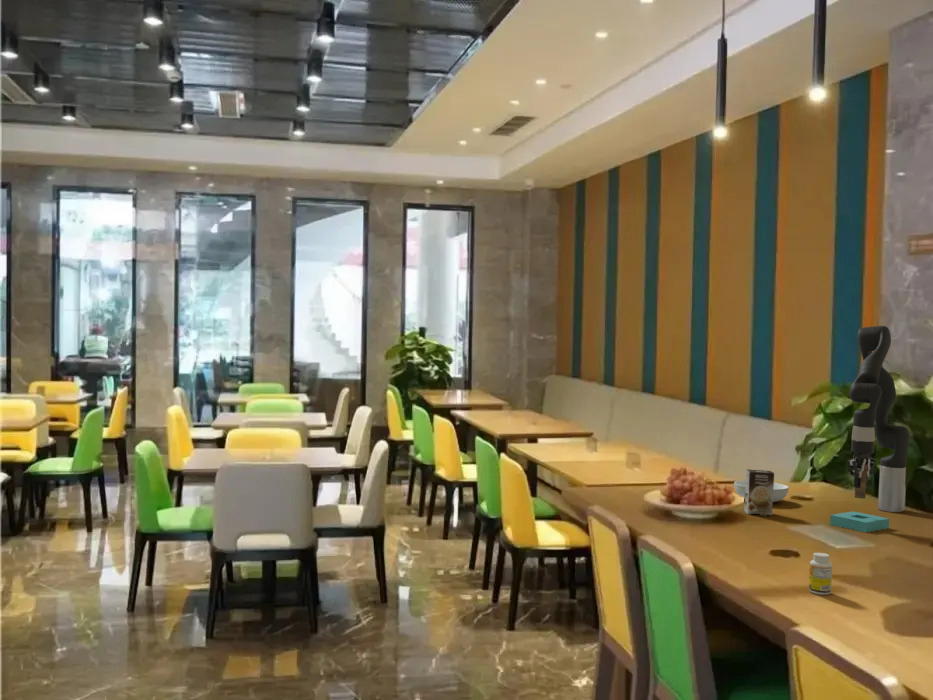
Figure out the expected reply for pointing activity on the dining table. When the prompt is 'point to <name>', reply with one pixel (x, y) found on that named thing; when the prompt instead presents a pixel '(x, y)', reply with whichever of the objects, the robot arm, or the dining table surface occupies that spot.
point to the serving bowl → (778, 490)
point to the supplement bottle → (820, 574)
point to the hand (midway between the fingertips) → (860, 487)
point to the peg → (862, 484)
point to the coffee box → (759, 492)
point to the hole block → (859, 521)
